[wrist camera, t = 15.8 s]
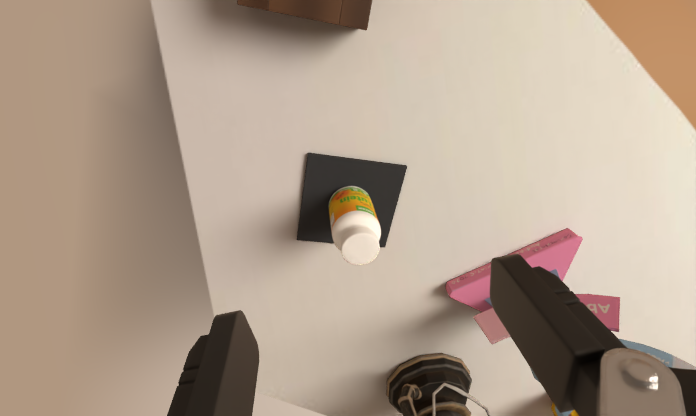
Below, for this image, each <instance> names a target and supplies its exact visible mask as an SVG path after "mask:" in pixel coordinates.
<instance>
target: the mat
mask: <svg viewBox="0 0 696 416" xmlns="http://www.w3.org/2000/svg"><path fill="white" fill-rule="evenodd" d="M406 169H407V166H406V165H398V164H391V163H383V162H375V161H368V160H360V159H352V158H345V157H337V156H329V155H322V154H314V153H308V157H307V165H306V172H305V180H304V188H303V196H302V203H301V211H300V219H299V227H298V235H297V240H302V241H314V242H326V243H334V241H333V238H332V231H331V223H330V215H329V201H330V199H331V197H332V195H333V194H334V193H335V192H336V191H337V190H339V189H341V188H343V187H346V186H356V187H359V188H361V189H363V190H364V191H366V192H367V193H368V195H369V197H370V199H371V201H372V204H373V207H374V210H375V213H376V216H377V218H378V221H379V224H380V228H381V237H380V240H379V245H380V247H385V245H386V241H387V238H388V234H389V231H390V227H391V223H392V220H393V216H394V212H395V209H396V205H397V201H398V198H399V194H400V191H401V187H402V183H403V180H404V176H405V172H406Z"/></svg>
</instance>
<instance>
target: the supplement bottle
mask: <svg viewBox="0 0 696 416" xmlns="http://www.w3.org/2000/svg"><path fill="white" fill-rule="evenodd" d="M329 215H330V223H331V231H332V238H333V241H334V244H335V245H336V247H337V248H338V249H339V250H340V251H341V254H342V256H343V258H344V259H345V260H346V261H347V262H349V263H351V264H354V265H364V264H367V263H369V262H371V261H373V260H374V259H375V258H376V256H377V255H378V253H379V250H380V245H379V240H380V237H381V228H380V224H379V221H378V218H377V216H376V213H375V210H374V207H373V204H372V201H371V199H370V197H369V195H368V193H367V192H366V191H364V190H363V189H361V188H359V187H356V186H346V187H343V188H341V189H339V190H337V191H336V192H335V193H334V194H333V195H332V197H331V199H330V201H329Z"/></svg>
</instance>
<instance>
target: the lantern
mask: <svg viewBox="0 0 696 416" xmlns="http://www.w3.org/2000/svg"><path fill="white" fill-rule="evenodd" d="M469 374H470V371H469V370H468V368H467V367H466V365H465V364H464V363H463V361H462V360H461V359H459V358H456V357H452V356H449V355H446V354H443V353H440V354H431V355H422V356H418V357H416V358H414V359H412V360H410V361H408V362H406V363H404V364H402V365H400V366H399V367H398V368H397V369H396V370H395V372H394V373H393V374H392V375H391V376H390V377H389V378H388V380H387V392H386V395H387V396H388V397H389V401H390V403H391V404H392V405H393V406H394V407H395V408H396V409H397V410H398V411H399V412H400V413H402V414H403V415H404V416H470V415H471V412H470V411H469V409H468V408H467V407H466V406H465V405H466V401H467V398H469V399H470V400H472V401H474V402H475V403H477V404H478V405H479V406H481V407H482V408H484V409H485V410H486V412H487V415H488V416H490V414H489V412H488V409H487V408H486V407H485V406H484V405H483V404H481V403H480V402H479V401H478V400H477V399H476V398H474V397H472V396H471V395H469V394H468V393H469V389H470V385H471V381H472V379H471V377H470V375H469Z"/></svg>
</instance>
